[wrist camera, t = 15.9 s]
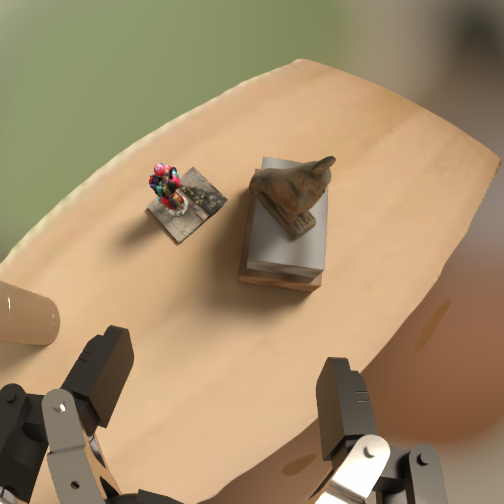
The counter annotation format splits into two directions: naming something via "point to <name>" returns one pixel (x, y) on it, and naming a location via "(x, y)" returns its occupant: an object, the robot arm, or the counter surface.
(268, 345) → the counter surface
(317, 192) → the brown carved statuette
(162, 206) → the statue
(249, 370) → the counter surface
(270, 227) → the grey and brown block
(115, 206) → the counter surface
